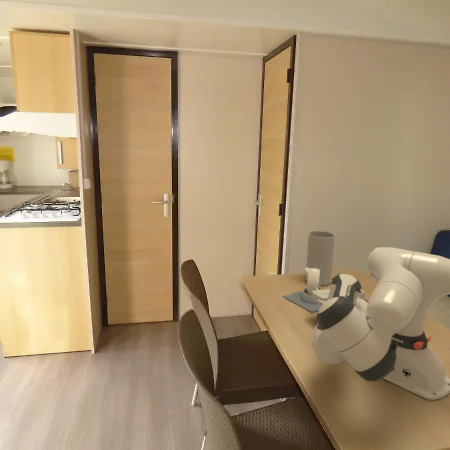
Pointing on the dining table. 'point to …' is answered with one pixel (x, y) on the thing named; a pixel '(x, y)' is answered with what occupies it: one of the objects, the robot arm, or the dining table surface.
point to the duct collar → (306, 297)
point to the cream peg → (312, 279)
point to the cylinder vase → (321, 254)
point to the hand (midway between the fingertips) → (325, 287)
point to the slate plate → (302, 302)
